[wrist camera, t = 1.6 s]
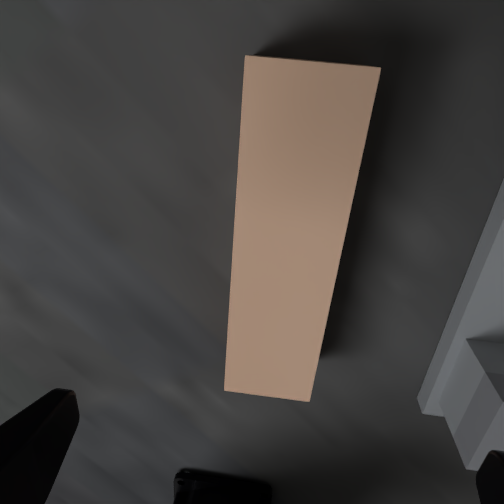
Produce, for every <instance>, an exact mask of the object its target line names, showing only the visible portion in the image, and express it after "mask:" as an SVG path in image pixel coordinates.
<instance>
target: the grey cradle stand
mask: <svg viewBox="0 0 504 504" xmlns="http://www.w3.org/2000/svg"><path fill="white" fill-rule="evenodd" d="M417 400H418V403H419V406H420V408H421V411H422V414H428V415H436V416H443V417H445V419H446V421H447V424H448V426H449V429H450V431H451V434H452V436H453V439H454V441H455V444H456V446H457V448H458V451H459V453H460V456H461V458H462V461H463V463H464V466H465V468H466V469H468V470H475V471H478V469H479V468H480V466H481V464H482V462H483V461H484V459H485V457H486V456H487V454H488V452H489V451H491V450H499V451H504V179H503V182H502V184H501V187H500V189H499V192H498V194H497V197H496V200H495V202H494V205H493V207H492V210H491V212H490V215H489V217H488V220H487V222H486V225H485V227H484V230H483V232H482V235H481V237H480V240H479V242H478V245H477V247H476V250H475V253H474V255H473V258H472V260H471V263H470V265H469V268H468V270H467V273H466V275H465V278H464V280H463V283H462V285H461V288H460V290H459V293H458V295H457V298H456V301H455V303H454V306H453V308H452V311H451V313H450V316H449V318H448V321H447V323H446V326H445V328H444V331H443V333H442V336H441V338H440V341H439V343H438V346H437V349H436V351H435V354H434V356H433V359H432V361H431V364H430V366H429V369H428V371H427V374H426V376H425V379H424V381H423V384H422V386H421V389H420V391H419V394H418V397H417Z"/></svg>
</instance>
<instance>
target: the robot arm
mask: <svg viewBox="0 0 504 504" xmlns="http://www.w3.org/2000/svg"><path fill="white" fill-rule="evenodd" d="M78 423H79V409H78V404H77V399H76V394H75V392H74V391H73V390H68V389H61V388H56V389H53V390H51V391H50V392H48V393H47V394H46V395H44V396H43V397H41V398H40V399H38V400H37V401H35V402H34V403H32V404H31V405H29V406H28V407H26V408H25V409H24V410H22V411H21V412H19V413H18V414H16V415H15V416H13V417H12V418H10V419H9V420H7V421H6V422H5V423H3V424H2V425H0V504H45V502H46V500H47V498H48V495H49V493H50V491H51V489H52V486H53V484H54V482H55V479H56V477H57V474H58V472H59V470H60V467H61V465H62V462H63V460H64V458H65V455H66V453H67V450H68V448H69V446H70V443H71V441H72V438H73V436H74V434H75V431H76V429H77V426H78ZM476 485H477V490H478V494H479V498H480V502H481V504H504V451H499V450H491V451H489V452H488V454H487V456H486V457H485V459H484V461H483V462H482V464H481V466H480V468H479V469H478V471H477V474H476ZM271 499H272V488H271V487H270V486H268V485H264V484H257V483H250V482H244V481H237V480H231V479H224V478H217V477H211V476H204V475H197V474H191V473H184V472H179V473H177V474H176V475H175V479H174V503H173V504H271Z"/></svg>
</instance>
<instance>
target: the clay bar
mask: <svg viewBox="0 0 504 504" xmlns="http://www.w3.org/2000/svg"><path fill="white" fill-rule="evenodd" d="M380 71H381V68H380V67H374V66H368V65H359V64H348V63H337V62H326V61H315V60H304V59H293V58H282V57H270V56H259V55H245V64H244V80H243V96H242V112H241V128H240V144H239V160H238V176H237V192H236V208H235V224H234V240H233V256H232V272H231V288H230V304H229V320H228V335H227V351H226V367H225V383H224V391H231V392H239V393H246V394H254V395H261V396H269V397H276V398H284V399H291V400H299V401H306V402H309V401H310V397H311V392H312V387H313V383H314V378H315V373H316V369H317V364H318V359H319V355H320V350H321V345H322V341H323V336H324V331H325V327H326V322H327V318H328V313H329V308H330V304H331V299H332V294H333V290H334V285H335V280H336V276H337V271H338V266H339V262H340V257H341V252H342V248H343V243H344V239H345V234H346V229H347V225H348V220H349V215H350V211H351V206H352V201H353V197H354V192H355V187H356V183H357V178H358V173H359V169H360V164H361V159H362V155H363V150H364V146H365V141H366V136H367V132H368V127H369V122H370V118H371V113H372V108H373V104H374V99H375V94H376V90H377V85H378V80H379V76H380Z"/></svg>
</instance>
